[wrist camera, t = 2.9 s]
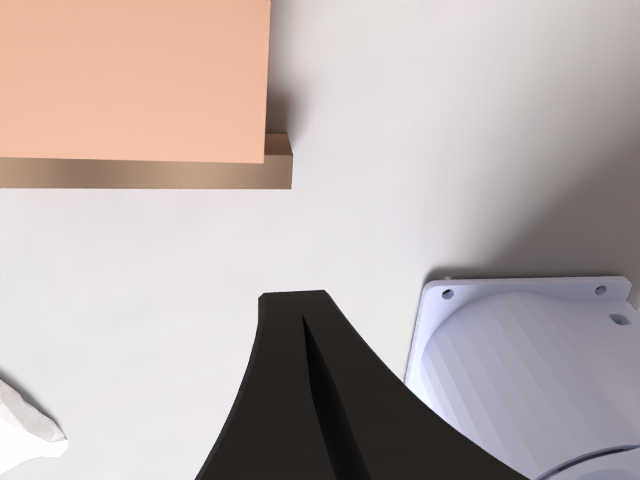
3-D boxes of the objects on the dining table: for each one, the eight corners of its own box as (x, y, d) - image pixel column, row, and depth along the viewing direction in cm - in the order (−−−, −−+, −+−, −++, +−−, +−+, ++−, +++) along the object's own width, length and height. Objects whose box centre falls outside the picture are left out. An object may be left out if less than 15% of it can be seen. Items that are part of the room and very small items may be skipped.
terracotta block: (262, -33, 19) (271, -15, 16) (257, 123, 21) (263, 163, 18) (-18, -55, 17) (-67, -41, 14) (11, 114, 20) (-25, 156, 17)
